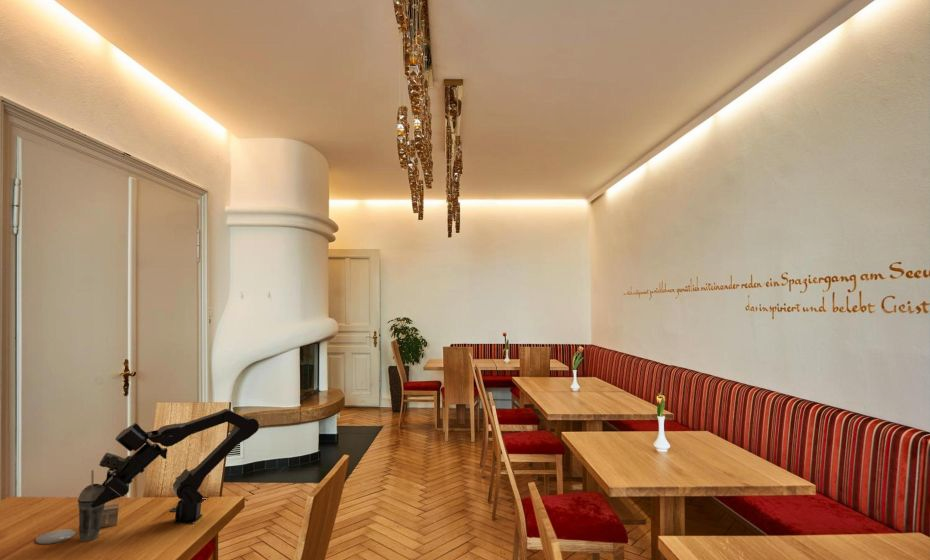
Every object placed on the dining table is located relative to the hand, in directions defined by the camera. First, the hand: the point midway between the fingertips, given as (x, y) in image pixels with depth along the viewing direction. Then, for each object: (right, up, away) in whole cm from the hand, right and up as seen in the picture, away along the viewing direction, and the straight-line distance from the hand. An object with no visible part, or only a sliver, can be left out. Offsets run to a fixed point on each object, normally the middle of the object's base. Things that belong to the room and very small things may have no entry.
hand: (92, 501), depth 149 cm
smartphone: (+14, -14, +28) cm, 34 cm away
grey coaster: (-10, -10, -2) cm, 14 cm away
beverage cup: (0, -11, -1) cm, 11 cm away
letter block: (-3, -11, +10) cm, 15 cm away
